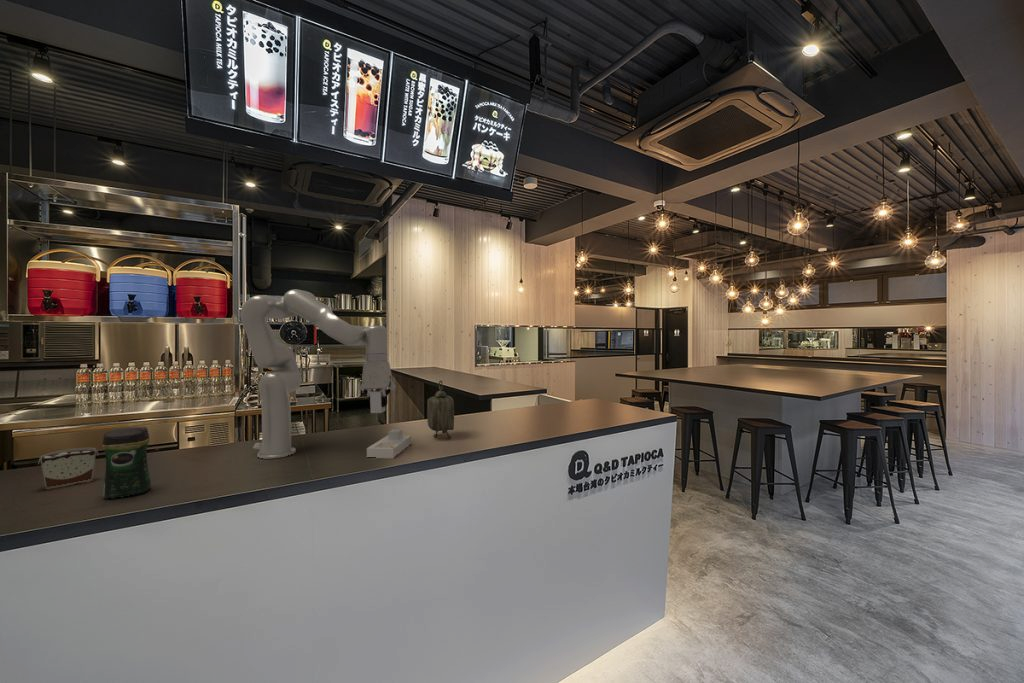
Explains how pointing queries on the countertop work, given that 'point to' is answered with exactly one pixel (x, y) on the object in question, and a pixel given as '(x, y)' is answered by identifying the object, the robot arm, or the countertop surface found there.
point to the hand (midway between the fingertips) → (378, 406)
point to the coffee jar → (126, 462)
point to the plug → (376, 401)
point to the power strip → (389, 445)
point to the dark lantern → (440, 412)
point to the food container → (68, 466)
